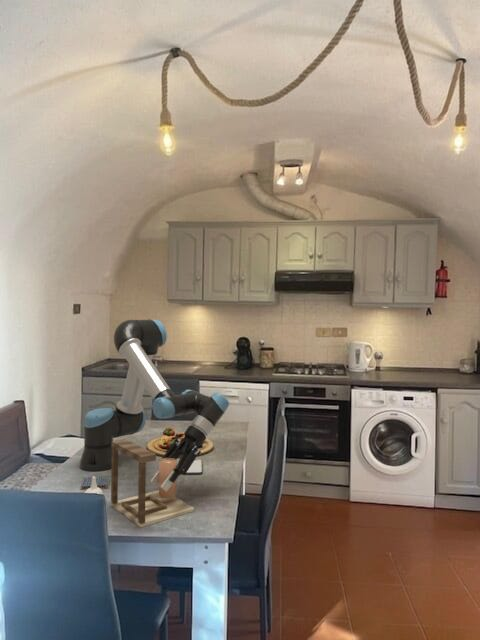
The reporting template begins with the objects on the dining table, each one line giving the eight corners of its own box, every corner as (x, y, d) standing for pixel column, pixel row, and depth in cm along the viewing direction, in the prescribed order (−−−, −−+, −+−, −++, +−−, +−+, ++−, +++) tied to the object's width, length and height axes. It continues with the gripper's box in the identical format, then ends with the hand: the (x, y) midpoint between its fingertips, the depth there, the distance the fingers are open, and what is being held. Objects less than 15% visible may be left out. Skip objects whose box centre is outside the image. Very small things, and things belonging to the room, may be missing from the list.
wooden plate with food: (142, 441, 248) (142, 425, 247) (204, 436, 258) (204, 421, 257) (151, 463, 218) (151, 444, 217) (221, 456, 228) (221, 438, 227)
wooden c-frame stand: (110, 505, 169) (111, 441, 168) (161, 492, 182) (162, 432, 181) (140, 527, 153) (141, 456, 152) (194, 511, 166) (195, 445, 165)
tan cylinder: (155, 494, 171) (155, 460, 171) (170, 490, 175) (170, 456, 174) (164, 499, 166) (165, 464, 166) (179, 495, 170) (180, 461, 170)
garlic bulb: (82, 503, 172) (81, 481, 170) (86, 494, 178) (86, 473, 177) (100, 503, 172) (100, 481, 171) (104, 494, 178) (104, 473, 177)
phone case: (202, 476, 201) (202, 463, 217) (202, 472, 201) (202, 459, 217) (180, 476, 200) (182, 463, 216) (180, 472, 200) (182, 459, 216)
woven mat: (110, 480, 194) (110, 475, 194) (109, 490, 184) (109, 484, 184) (82, 481, 192) (82, 476, 192) (79, 491, 182) (79, 486, 182)
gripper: (220, 443, 173) (180, 500, 163) (189, 431, 187) (151, 484, 177) (208, 430, 169) (166, 488, 159) (177, 419, 183) (137, 472, 173)
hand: (158, 486), depth 168 cm, fingers closed on tan cylinder, 6 cm apart
